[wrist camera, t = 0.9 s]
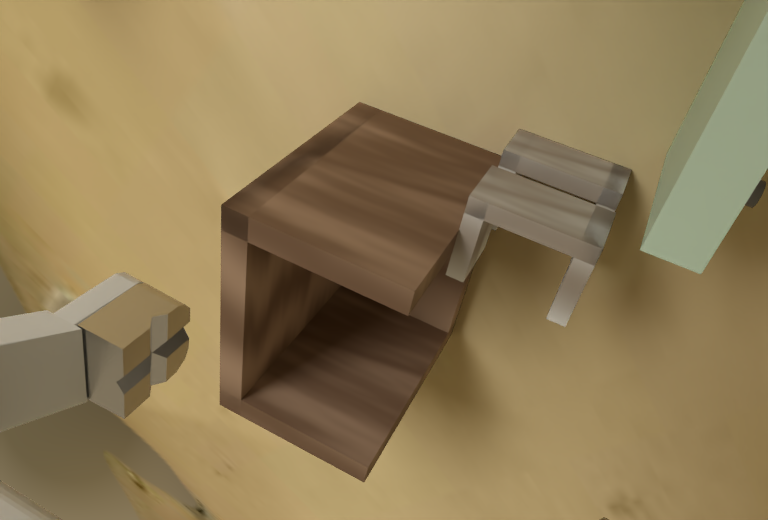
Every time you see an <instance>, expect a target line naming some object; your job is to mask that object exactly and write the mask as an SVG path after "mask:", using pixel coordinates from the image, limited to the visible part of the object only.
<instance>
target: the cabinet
mask: <svg viewBox="0 0 768 520" xmlns="http://www.w3.org/2000/svg"><path fill="white" fill-rule="evenodd" d="M630 173H631V169H628V168H625V167H622V166H620V165H617V164H614V163H612V162H609V161H606V160H603V159H601V158H598V157H595V156H592V155H590V154H587V153H584V152H582V151H579V150H576V149H573V148H571V147H568V146H565V145H562V144H560V143H557V142H554V141H551V140H549V139H546V138H543V137H541V136H538V135H535V134H532V133H530V132H527V131H524V130H521V129H519V130H518V131H517V133H516V134H515V135H514V137H513V138H512V139H511V141H510V142H509V143H508V145H507V146H506V147H505V149H504V150H503V154H502V156H500V155H498V154H495V153H492V152H490V151H487V150H484V149H482V148H479V147H476V146H474V145H471V144H469V143H466V142H463V141H461V140H458V139H455V138H453V137H450V136H447V135H445V134H442V133H440V132H437V131H434V130H432V129H429V128H426V127H424V126H421V125H418V124H416V123H413V122H411V121H408V120H405V119H403V118H400V117H397V116H395V115H392V114H390V113H387V112H384V111H382V110H379V109H376V108H374V107H371V106H368V105H366V104H363V103H361V102H359V103H358V104H356V105H355V106H354V107H352V108H351V109H350V110H348V111H347V112H346V113H344V114H343V115H342V116H340V117H339V118H337V119H336V120H335V121H333V122H332V123H331V124H329V125H328V126H327V127H325V128H324V129H323V130H321V131H320V132H319V133H317V134H316V135H315V136H313V137H312V138H311V139H309V140H308V141H307V142H305V143H304V144H302V145H301V146H300V147H298V148H297V149H296V150H294V151H293V152H292V153H290V154H289V155H288V156H286V157H285V158H284V159H282V160H281V161H280V162H278V163H277V164H276V165H274V166H273V167H271V168H270V169H269V170H267V171H266V172H265V173H263V174H262V175H261V176H259V177H258V178H257V179H255V180H254V181H253V182H251V183H250V184H249V185H247V186H246V187H245V188H243V189H242V190H240V191H239V192H238V193H236V194H235V195H234V196H232V197H231V198H230V199H228V200H227V201H226V202H224V203H223V204H222V205H221V321H220V405H222V406H223V407H225V408H227V409H229V410H231V411H233V412H234V413H236V414H238V415H240V416H242V417H244V418H246V419H247V420H249V421H251V422H253V423H255V424H257V425H259V426H260V427H262V428H264V429H266V430H268V431H270V432H272V433H273V434H275V435H277V436H279V437H281V438H283V439H285V440H286V441H288V442H290V443H292V444H294V445H296V446H297V447H299V448H301V449H303V450H305V451H307V452H309V453H310V454H312V455H314V456H316V457H318V458H320V459H322V460H323V461H325V462H327V463H329V464H331V465H333V466H335V467H336V468H338V469H340V470H342V471H344V472H346V473H348V474H349V475H351V476H353V477H355V478H357V479H359V480H361V481H362V482H365V480H366V478H367V477H368V475H369V473H370V472H371V470H372V468H373V467H374V465H375V463H376V461H377V460H378V458H379V456H380V455H381V453H382V451H383V450H384V448H385V446H386V444H387V443H388V441H389V439H390V438H391V436H392V434H393V433H394V431H395V429H396V427H397V426H398V424H399V422H400V421H401V419H402V417H403V416H404V414H405V412H406V410H407V409H408V407H409V405H410V404H411V402H412V400H413V399H414V397H415V395H416V393H417V392H418V390H419V388H420V387H421V385H422V383H423V382H424V380H425V378H426V376H427V375H428V373H429V371H430V370H431V368H432V366H433V365H434V363H435V361H436V359H437V358H438V356H439V354H440V353H441V351H442V349H443V348H444V346H445V344H446V342H447V341H448V339H449V337H450V336H451V333H452V330H453V327H454V324H455V321H456V318H457V315H458V312H459V309H460V306H461V303H462V300H463V297H464V294H465V291H466V288H467V285H468V282H469V279H470V276H471V273H472V270H473V267H474V265H475V263H476V261H477V260H478V258H479V257H480V255H481V253H482V252H483V250H484V249H485V246H486V243H487V240H488V237H489V234H490V231H491V229H493V230H495V231H496V229H497V228H498V227H500V228H503V229H505V230H508V231H510V232H512V233H515V234H517V235H520V236H522V237H525V238H527V239H530V240H532V241H534V242H537V243H539V244H542V245H544V246H547V247H549V248H552V249H554V250H556V251H559V252H561V253H564V254H566V255H569V256H571V257H572V258H571V262H570V264H569V266H568V269H567V271H566V273H565V275H564V278H563V280H562V282H561V284H560V287H559V289H558V291H557V294H556V296H555V299H554V301H553V303H552V306H551V308H550V310H549V313H548V315H547V317H546V319H548V320H550V321H552V322H555V323H557V324H559V325H562V326H564V327H565V326H566V324H567V322H568V320H569V318H570V316H571V314H572V312H573V310H574V308H575V306H576V304H577V302H578V300H579V298H580V296H581V293H582V291H583V289H584V287H585V285H586V283H587V281H588V279H589V277H590V275H591V273H592V271H593V269H594V267H595V265H596V263H597V261H598V259H599V256H600V254H601V252H602V250H603V248H604V245H605V242H606V240H607V237H608V234H609V231H610V229H611V226H612V223H613V220H614V218H615V215H616V213H615V210H616V208H617V206H618V204H619V201H620V199H621V197H622V195H623V193H624V190H625V187H626V184H627V182H628V179H629V176H630ZM522 175H524V176H527V177H530V178H532V179H535V180H537V181H540V182H543V183H545V184H548V185H551V186H553V187H556V188H558V189H561V190H564V191H566V192H569V193H571V194H574V195H577V196H579V197H582V198H584V199H587V200H590V201H592V202H595V203H596V204H592V203H589V202H587V201H584V200H582V199H579V198H576V197H574V196H571V195H569V194H566V193H563V192H561V191H558V190H556V189H553V188H550V187H548V186H545V185H543V184H540V183H537V182H535V181H532V180H530V179H527V178H524V177H522Z"/></svg>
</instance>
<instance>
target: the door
mask: <svg viewBox="0 0 768 520" xmlns="http://www.w3.org/2000/svg"><path fill="white" fill-rule="evenodd" d="M767 169H768V0H744V2H743V4H742V6H741V8H740V10H739V12H738V14H737V16H736V18H735V20H734V22H733V24H732V26H731V28H730V30H729V32H728V34H727V36H726V38H725V40H724V42H723V44H722V46H721V48H720V50H719V52H718V54H717V56H716V58H715V59H714V61H713V63H712V65H711V67H710V69H709V71H708V73H707V75H706V77H705V79H704V81H703V83H702V85H701V87H700V89H699V91H698V93H697V95H696V97H695V99H694V101H693V103H692V105H691V107H690V109H689V111H688V113H687V115H686V117H685V119H684V121H683V123H682V125H681V127H680V129H679V131H678V133H677V135H676V137H675V138H674V140H673V142H672V144H671V146H670V148H669V150H668V152H667V155H666V158H665V162H664V165H663V169H662V173H661V176H660V180H659V183H658V187H657V191H656V194H655V198H654V201H653V205H652V209H651V212H650V216H649V219H648V223H647V227H646V230H645V234H644V237H643V241H642V245H641V248H640V251H643V252H646V253H648V254H651V255H653V256H656V257H658V258H661V259H663V260H666V261H668V262H671V263H673V264H676V265H678V266H681V267H683V268H686V269H689V270H691V271H694V272H696V273H699V274H702V272H703V270H704V269H705V267H706V266H707V264H708V262H709V261H710V259H711V258H712V256H713V254H714V253H715V251H716V250H717V248H718V247H719V245H720V243H721V242H722V240H723V239H724V237H725V235H726V234H727V232H728V231H729V229H730V227H731V226H732V224H733V223H734V221H735V220H736V218H737V216H738V215H739V213H740V212H741V210H742V208H743V207H744V205H746V206H749V207H751V208H753V207H754V206H755V205H756V204H757V202H758V201H759V199H760V197H761V196H762V194H763V191H764V189H765V186H766V182H765V181H762V180H761V178H762V177H763V175H764V174H765V172H766V170H767Z"/></svg>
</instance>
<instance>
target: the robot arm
mask: <svg viewBox="0 0 768 520" xmlns="http://www.w3.org/2000/svg"><path fill="white" fill-rule="evenodd" d="M189 322H190V308H189V307H188V306H186V305H185V304H183V303H181V302H179V301H177V300H176V299H174V298H172V297H170V296H168V295H166V294H165V293H163V292H161V291H159V290H157V289H155V288H154V287H152V286H150V285H148V284H146V283H144V282H142V281H140V280H138V279H136V278H134V277H133V276H131V275H129V274H127V273H125V272H122V273H116V274H114V275H112V276H111V277H109V278H107V279H106V280H104V281H103V282H101V283H100V284H98V285H97V286H95V287H94V288H92V289H90V290H89V291H87V292H86V293H84V294H83V295H81V296H80V297H78V298H76V299H75V300H73V301H72V302H70V303H69V304H67V305H66V306H64V307H62V308H61V309H59V310H58V311H56V312H55V313H52V312H50V311H48V310H45V311H39V312H33V313H28V314H22V315H16V316H10V317H4V318H0V432H2V431H5V430H8V429H11V428H13V427H16V426H19V425H22V424H25V423H28V422H31V421H34V420H37V419H39V418H42V417H45V416H48V415H51V414H54V413H57V412H59V411H62V410H65V409H68V408H71V407H74V406H76V405H79V404H82V403H85V402H87V399H88V400H90V401H92V402H94V403H96V404H98V405H99V406H101V407H103V408H105V409H107V410H109V411H111V412H112V413H114V414H116V415H118V416H120V417H122V418H124V419H125V418H126V417H127V416H128V415H130V414H131V413H132V412H133V411H134V410H135V409H136V408H137V407H138V406H140V405H141V404H142V403H143V402H144V401H145V400H146V399H147V398H149V397H150V391H151V385H155V384H159V383H163V382H166V381H167V380H168V379H169V378H170V377H172V376H173V375H174V374H175V373H176V372H177V370H178V369H179V367H180V366H181V364H182V363H183V361H184V359H185V357H186V354H187V351H188V347H189V337H188V335H187V333H186V331H185V329H184V326H185V325H186V324H188V323H189ZM0 520H62V519H61V518H59V517H57V516H56V515H54V514H53V513H51V512H49V511H48V510H46V509H45V508H43V507H42V506H40V505H38V504H37V503H35V502H34V501H32V500H30V499H29V498H27V497H26V496H24V495H23V494H21V493H19V492H18V491H16V490H14V489H13V488H12V487H10V486H8V485H7V484H5V483H4V482H2V481H1V480H0ZM600 520H609V519H607V518H605V517H603V518H602V519H600Z"/></svg>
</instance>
